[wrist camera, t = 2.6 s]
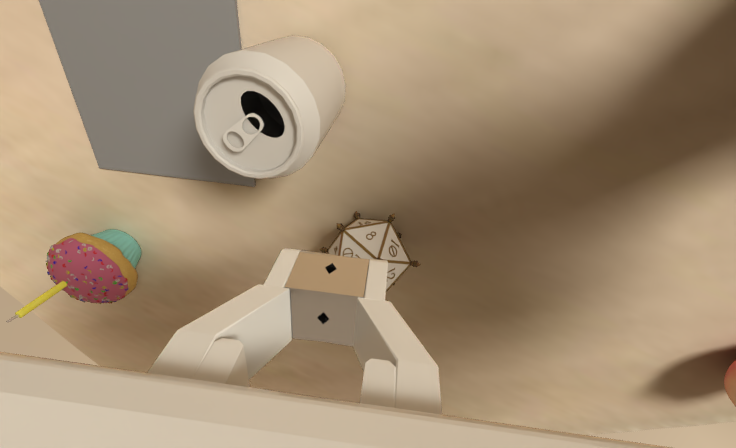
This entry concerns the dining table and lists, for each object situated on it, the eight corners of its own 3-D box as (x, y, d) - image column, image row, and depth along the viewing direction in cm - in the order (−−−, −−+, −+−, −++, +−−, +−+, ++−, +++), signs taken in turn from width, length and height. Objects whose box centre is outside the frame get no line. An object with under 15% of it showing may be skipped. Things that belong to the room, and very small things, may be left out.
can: (365, 93, 29) (341, 143, 19) (302, 145, 32) (252, 211, 22) (304, 11, 27) (238, 18, 17) (241, 76, 30) (152, 115, 20)
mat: (228, -76, 24) (226, -76, 24) (255, 185, 35) (254, 186, 35) (8, -95, 25) (4, -96, 25) (101, 166, 36) (99, 168, 36)
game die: (359, 220, 41) (287, 262, 35) (392, 177, 34) (311, 219, 28) (408, 283, 39) (342, 338, 33) (454, 250, 32) (381, 312, 26)
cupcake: (102, 270, 44) (10, 351, 34) (71, 211, 39) (-46, 284, 29) (167, 275, 43) (93, 358, 33) (143, 215, 39) (49, 291, 29)
